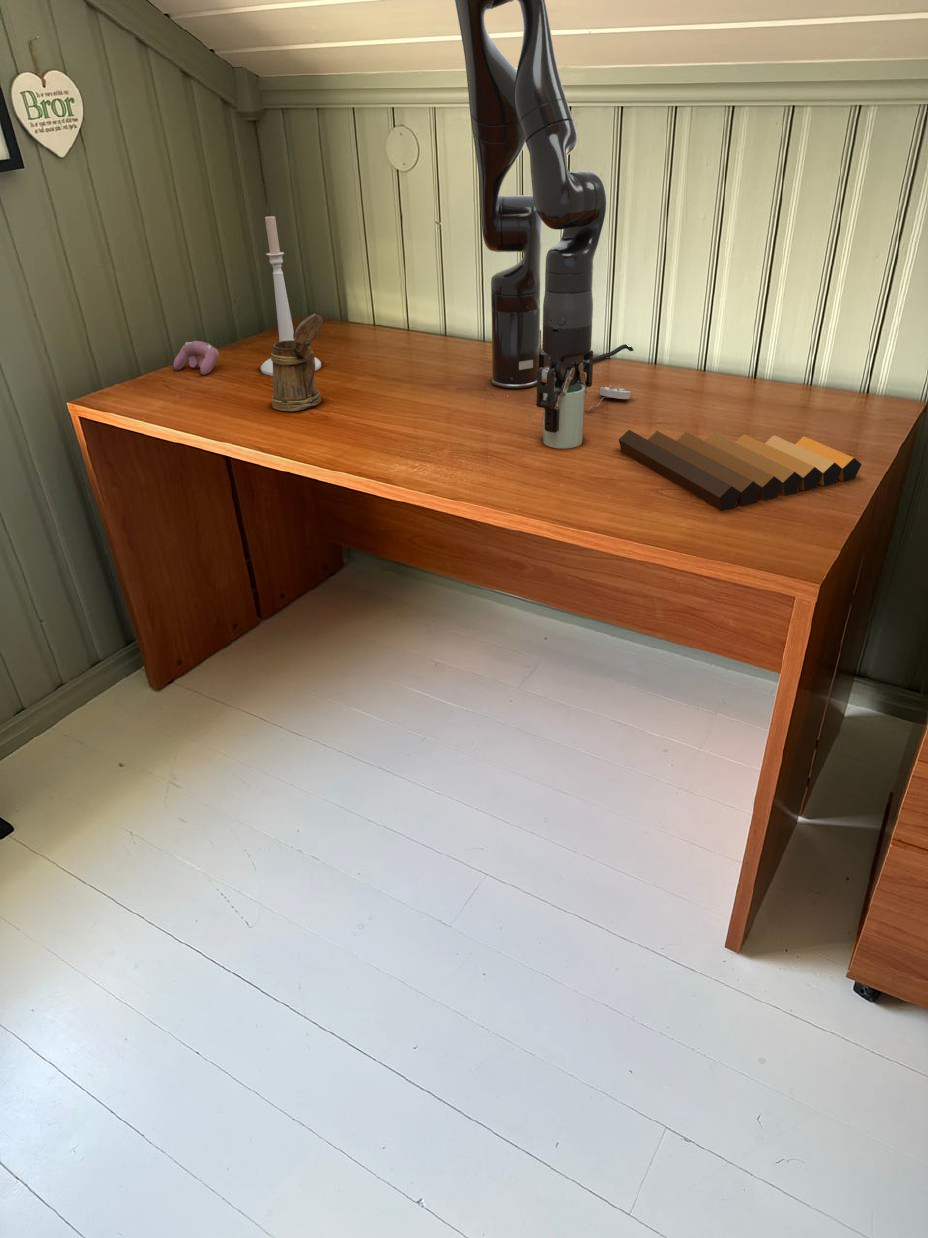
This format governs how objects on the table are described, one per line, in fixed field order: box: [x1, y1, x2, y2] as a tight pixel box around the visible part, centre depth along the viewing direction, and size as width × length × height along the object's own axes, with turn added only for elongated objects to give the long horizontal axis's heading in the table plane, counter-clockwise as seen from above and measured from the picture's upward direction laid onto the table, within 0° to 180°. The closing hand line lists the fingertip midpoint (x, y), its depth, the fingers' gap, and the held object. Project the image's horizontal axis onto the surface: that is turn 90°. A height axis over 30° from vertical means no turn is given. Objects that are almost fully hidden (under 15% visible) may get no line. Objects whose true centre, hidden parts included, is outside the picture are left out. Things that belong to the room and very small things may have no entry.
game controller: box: [587, 385, 632, 413], centre depth 153 cm, size 6×12×3 cm, turn 158°
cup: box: [542, 383, 586, 449], centre depth 136 cm, size 6×6×9 cm
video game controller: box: [172, 340, 220, 376], centre depth 180 cm, size 10×5×7 cm, turn 58°
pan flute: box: [618, 429, 862, 512], centre depth 127 cm, size 25×3×25 cm
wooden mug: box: [270, 311, 324, 412], centre depth 153 cm, size 9×14×18 cm, turn 47°
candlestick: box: [260, 214, 322, 377], centre depth 173 cm, size 13×13×30 cm
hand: (564, 423), depth 137 cm, fingers open, 8 cm apart
